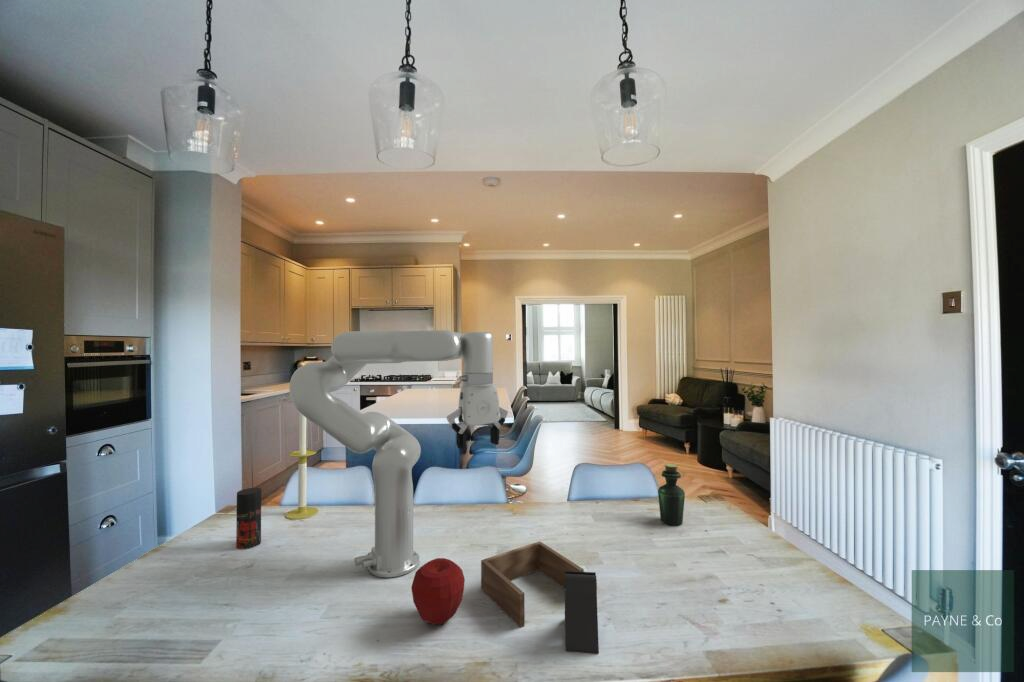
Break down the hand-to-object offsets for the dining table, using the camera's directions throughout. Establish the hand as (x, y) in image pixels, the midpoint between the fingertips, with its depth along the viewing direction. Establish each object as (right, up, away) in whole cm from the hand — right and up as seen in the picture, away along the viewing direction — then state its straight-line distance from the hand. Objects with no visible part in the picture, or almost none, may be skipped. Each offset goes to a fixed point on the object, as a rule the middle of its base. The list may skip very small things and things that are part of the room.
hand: (478, 446), depth 106 cm
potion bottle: (+60, -31, +25) cm, 72 cm away
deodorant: (-66, -31, +11) cm, 74 cm away
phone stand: (+22, -30, -27) cm, 46 cm away
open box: (+13, -30, -13) cm, 35 cm away
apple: (-6, -30, -22) cm, 38 cm away
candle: (-62, -31, +33) cm, 77 cm away
